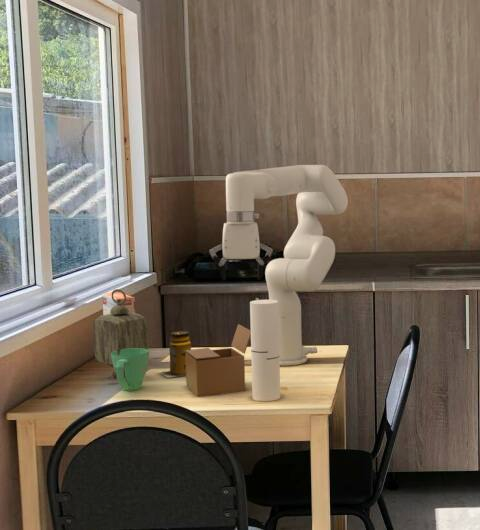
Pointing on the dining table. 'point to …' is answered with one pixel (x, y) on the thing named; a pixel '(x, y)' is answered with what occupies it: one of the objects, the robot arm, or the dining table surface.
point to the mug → (130, 367)
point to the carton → (214, 371)
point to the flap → (241, 338)
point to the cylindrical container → (265, 350)
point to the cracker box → (109, 303)
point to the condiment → (178, 354)
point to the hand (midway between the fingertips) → (241, 279)
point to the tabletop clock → (118, 332)
